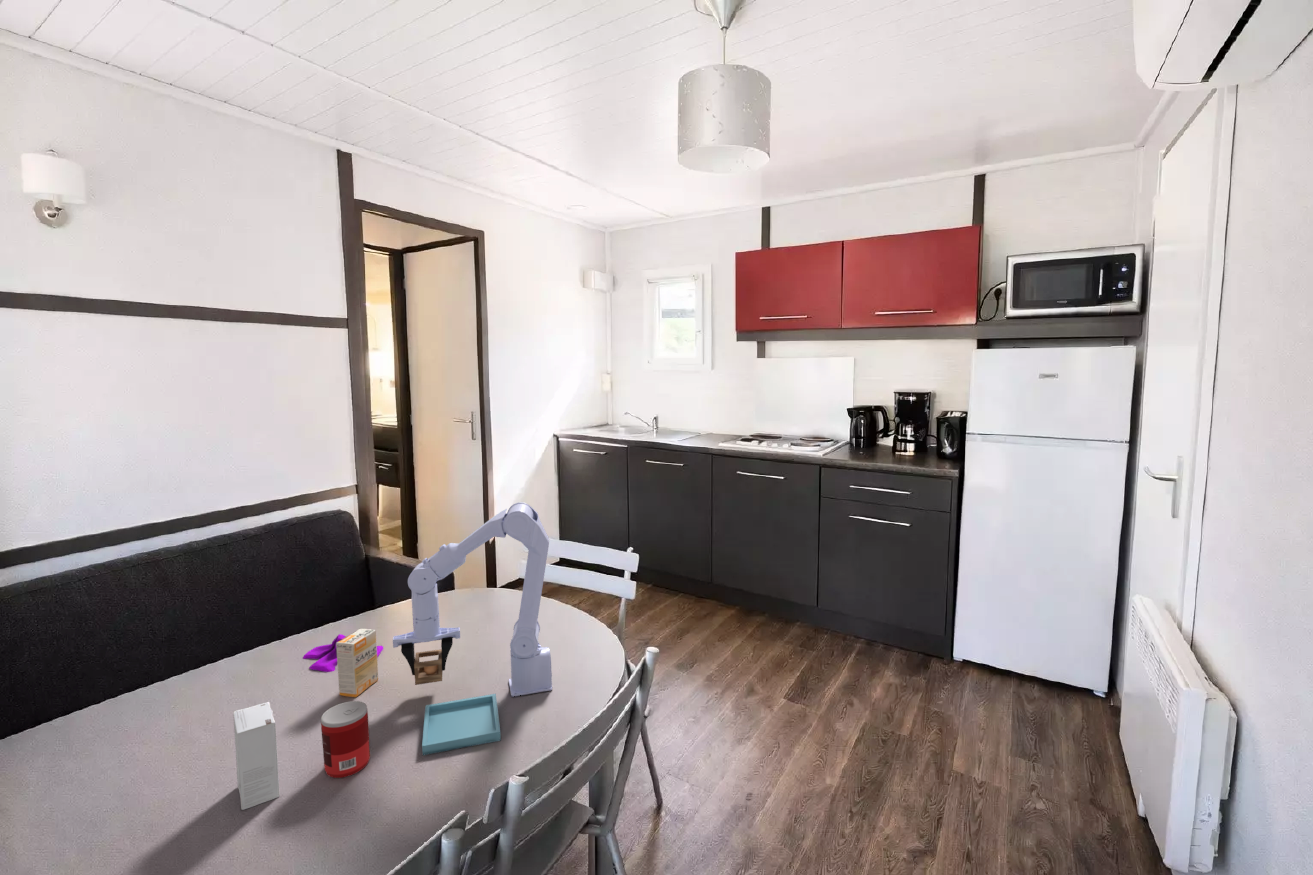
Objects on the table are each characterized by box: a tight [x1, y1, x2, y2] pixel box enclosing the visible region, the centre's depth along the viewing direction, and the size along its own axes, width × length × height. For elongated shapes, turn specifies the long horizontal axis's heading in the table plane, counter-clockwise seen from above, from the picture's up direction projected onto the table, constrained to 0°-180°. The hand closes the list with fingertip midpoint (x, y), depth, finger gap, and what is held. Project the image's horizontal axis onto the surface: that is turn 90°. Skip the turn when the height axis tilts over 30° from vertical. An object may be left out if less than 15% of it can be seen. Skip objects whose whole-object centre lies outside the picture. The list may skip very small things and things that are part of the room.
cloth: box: [302, 633, 384, 673], centre depth 161 cm, size 22×19×6 cm
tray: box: [421, 693, 501, 756], centre depth 128 cm, size 15×15×2 cm
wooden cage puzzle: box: [414, 649, 443, 686], centre depth 140 cm, size 6×6×5 cm
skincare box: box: [232, 701, 280, 811], centre depth 108 cm, size 8×6×15 cm
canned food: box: [320, 700, 371, 779], centre depth 115 cm, size 8×8×11 cm
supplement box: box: [336, 628, 379, 698], centre depth 143 cm, size 8×5×13 cm, turn 168°
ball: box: [424, 665, 438, 675], centre depth 140 cm, size 3×3×3 cm
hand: (429, 670), depth 140 cm, fingers closed on wooden cage puzzle, 6 cm apart
